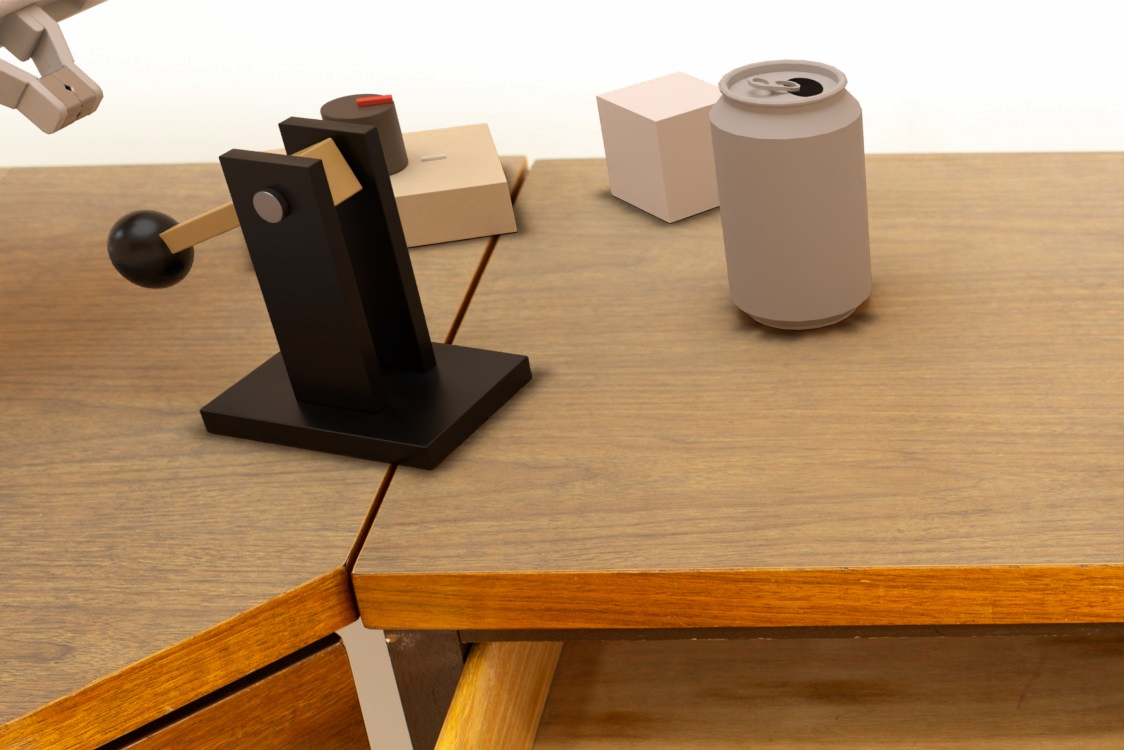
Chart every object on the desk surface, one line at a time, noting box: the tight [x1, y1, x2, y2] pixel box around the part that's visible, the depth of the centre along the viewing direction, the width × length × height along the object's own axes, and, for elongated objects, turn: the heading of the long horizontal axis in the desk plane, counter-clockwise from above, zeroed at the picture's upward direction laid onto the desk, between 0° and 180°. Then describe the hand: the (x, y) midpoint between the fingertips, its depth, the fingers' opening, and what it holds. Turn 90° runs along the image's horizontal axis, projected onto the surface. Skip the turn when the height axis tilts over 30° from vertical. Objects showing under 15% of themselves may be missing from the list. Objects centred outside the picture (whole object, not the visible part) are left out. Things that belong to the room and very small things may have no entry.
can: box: [709, 58, 873, 331], centre depth 80 cm, size 8×8×12 cm
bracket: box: [198, 115, 533, 470], centre depth 72 cm, size 12×9×13 cm
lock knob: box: [319, 93, 408, 175], centre depth 90 cm, size 4×4×4 cm
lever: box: [106, 138, 362, 290], centre depth 71 cm, size 14×4×4 cm, turn 74°
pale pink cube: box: [595, 70, 722, 224], centre depth 94 cm, size 6×6×6 cm
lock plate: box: [257, 122, 518, 248], centre depth 92 cm, size 14×10×3 cm
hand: (78, 115), depth 72 cm, fingers closed
